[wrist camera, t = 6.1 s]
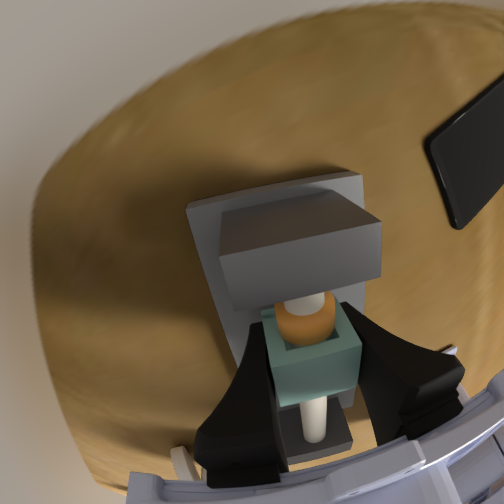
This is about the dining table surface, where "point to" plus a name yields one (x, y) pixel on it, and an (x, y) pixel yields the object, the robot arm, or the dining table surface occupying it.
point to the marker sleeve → (313, 361)
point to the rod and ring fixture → (291, 279)
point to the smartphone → (470, 155)
